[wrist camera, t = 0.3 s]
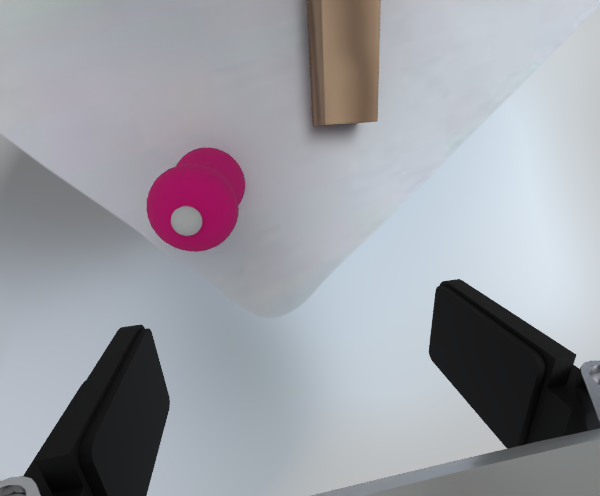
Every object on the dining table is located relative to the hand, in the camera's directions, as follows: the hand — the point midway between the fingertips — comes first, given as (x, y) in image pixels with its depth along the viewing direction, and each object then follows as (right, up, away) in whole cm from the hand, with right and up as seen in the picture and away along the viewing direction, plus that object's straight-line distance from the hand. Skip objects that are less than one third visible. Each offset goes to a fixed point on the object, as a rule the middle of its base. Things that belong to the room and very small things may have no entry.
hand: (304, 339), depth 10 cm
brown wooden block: (+4, +25, +24) cm, 35 cm away
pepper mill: (-10, +11, +26) cm, 30 cm away
